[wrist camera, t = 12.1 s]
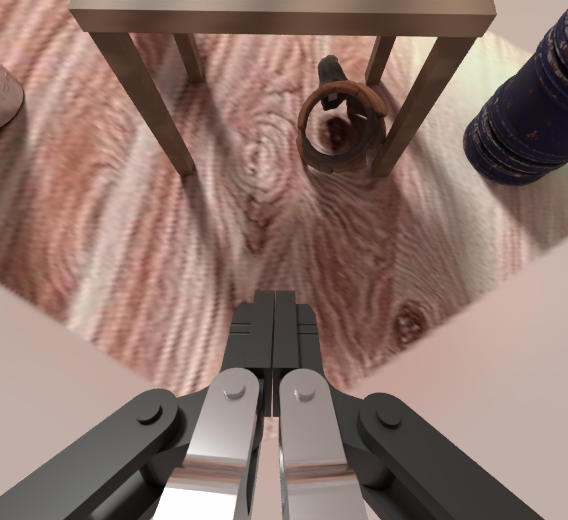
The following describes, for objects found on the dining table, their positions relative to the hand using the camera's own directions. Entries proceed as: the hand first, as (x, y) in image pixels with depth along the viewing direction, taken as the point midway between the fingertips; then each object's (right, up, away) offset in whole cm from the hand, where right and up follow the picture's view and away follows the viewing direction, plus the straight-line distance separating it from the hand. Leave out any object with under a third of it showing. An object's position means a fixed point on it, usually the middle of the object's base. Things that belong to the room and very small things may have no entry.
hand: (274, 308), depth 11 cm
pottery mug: (+6, +16, +21) cm, 27 cm away
